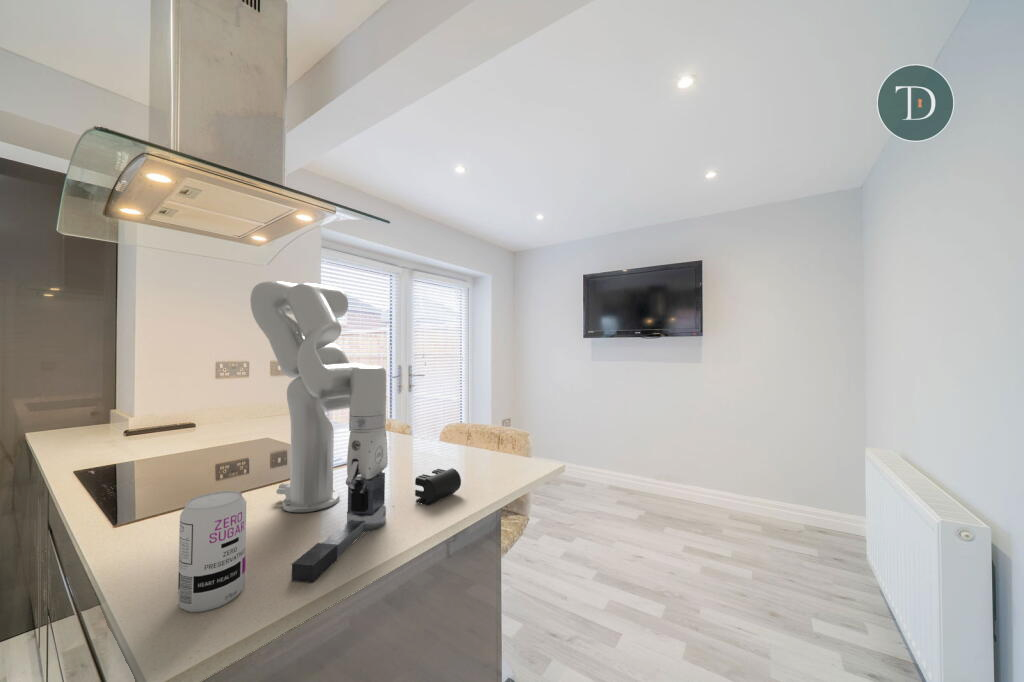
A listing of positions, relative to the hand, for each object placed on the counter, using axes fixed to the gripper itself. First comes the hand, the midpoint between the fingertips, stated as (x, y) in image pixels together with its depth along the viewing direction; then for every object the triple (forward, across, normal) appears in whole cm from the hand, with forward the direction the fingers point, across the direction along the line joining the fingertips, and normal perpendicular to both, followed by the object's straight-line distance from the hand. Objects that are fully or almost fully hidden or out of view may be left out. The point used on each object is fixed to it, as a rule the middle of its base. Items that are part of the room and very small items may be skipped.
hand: (366, 504), depth 86 cm
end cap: (+5, +16, -11) cm, 20 cm away
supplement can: (+4, -27, +11) cm, 30 cm away
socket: (+1, 0, 0) cm, 1 cm away
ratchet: (+4, -9, 0) cm, 10 cm away
